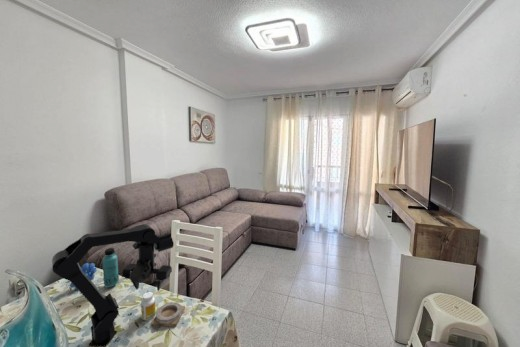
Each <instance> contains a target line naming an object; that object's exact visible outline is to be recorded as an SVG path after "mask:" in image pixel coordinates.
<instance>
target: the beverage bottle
mask: <svg viewBox="0 0 520 347" xmlns="http://www.w3.org/2000/svg"><path fill="white" fill-rule="evenodd" d="M115 253H116V250H115V248H113V247H110V248H107V249H106V248H105V250H104V255H105V256H104V257H103V258H102V267H103V268H102V269H103V270H102V271H103V272H102V274H103V275H102V276H103V278H102V279H103V285H104V287H106V288H109V287H113V286H116V285H117V284H118V283H119V280H120V277H119V263H118V254H115Z"/></svg>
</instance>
